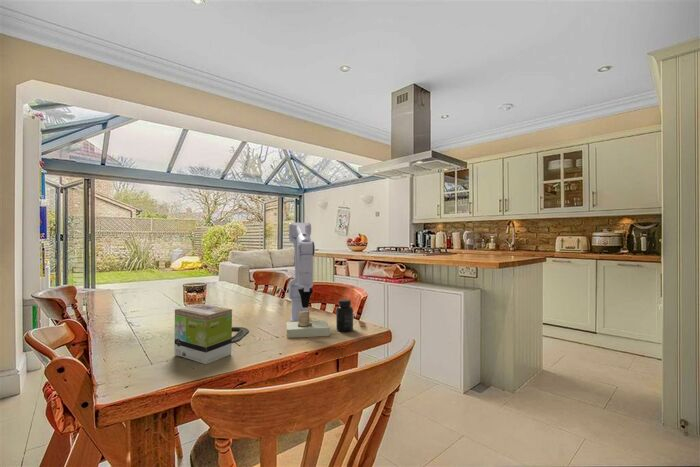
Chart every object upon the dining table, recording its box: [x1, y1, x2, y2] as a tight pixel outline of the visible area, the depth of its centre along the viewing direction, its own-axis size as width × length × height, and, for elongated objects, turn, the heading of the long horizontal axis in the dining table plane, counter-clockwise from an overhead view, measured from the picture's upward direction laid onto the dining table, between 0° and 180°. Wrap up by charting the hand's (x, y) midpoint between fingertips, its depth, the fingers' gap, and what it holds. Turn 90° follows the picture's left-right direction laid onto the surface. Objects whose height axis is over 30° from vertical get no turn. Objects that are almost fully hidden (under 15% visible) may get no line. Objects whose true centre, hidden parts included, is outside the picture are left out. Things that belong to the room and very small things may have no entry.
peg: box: [298, 311, 310, 327], centre depth 129 cm, size 4×4×8 cm
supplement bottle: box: [335, 298, 354, 333], centre depth 133 cm, size 7×7×12 cm
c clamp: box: [232, 326, 250, 344], centre depth 122 cm, size 20×17×3 cm
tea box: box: [173, 303, 233, 365], centre depth 103 cm, size 15×10×15 cm, turn 62°
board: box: [285, 320, 331, 339], centre depth 129 cm, size 11×16×3 cm
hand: (305, 307), depth 129 cm, fingers closed
